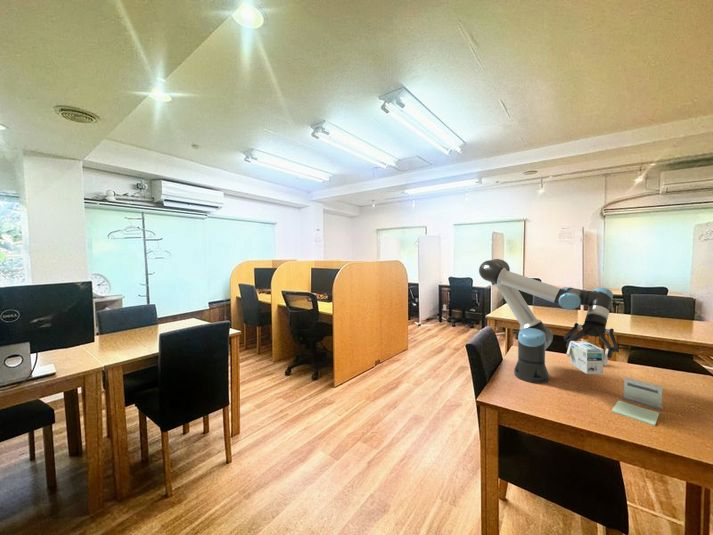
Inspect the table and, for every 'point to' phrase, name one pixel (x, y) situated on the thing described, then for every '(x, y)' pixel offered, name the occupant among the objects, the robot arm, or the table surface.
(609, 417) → the table surface
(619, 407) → the pad
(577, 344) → the light bulb box
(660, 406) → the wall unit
